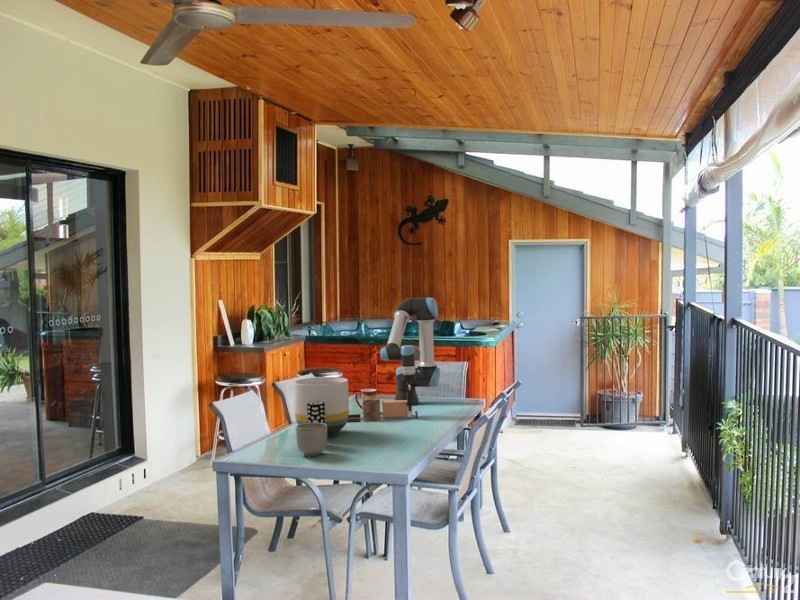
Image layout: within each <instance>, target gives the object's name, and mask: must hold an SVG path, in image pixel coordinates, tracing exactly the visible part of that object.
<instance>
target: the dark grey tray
mask: <svg viewBox="0 0 800 600" xmlns="http://www.w3.org/2000/svg"><path fill="white" fill-rule="evenodd" d="M347 423H361V414H360V413H355V414H354V413H353V414H349V416H348V420H347Z"/></svg>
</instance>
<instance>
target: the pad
mask: <svg viewBox="0 0 800 600" xmlns="http://www.w3.org/2000/svg"><path fill="white" fill-rule="evenodd" d="M400 420H402V421H403V420H414V418H395V419H381V421H400Z"/></svg>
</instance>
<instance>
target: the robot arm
mask: <svg viewBox="0 0 800 600" xmlns="http://www.w3.org/2000/svg"><path fill="white" fill-rule="evenodd" d="M438 315H439V309H438V304H437V301H436V299H435V298H434V297H409V298H406V299H404V300H402V302H400V303H399V304H398V306H397V307H396V308H395V310H394V314H393V318H394V320H393V322H392V326H391V330H390V333H389V337H388V340H387V344H386V347H385V346H384V347H382V348H380V352H379V353H380V359H381V360H382V361H386V362H390V361H391V362H394V361H398V362H399V361H401V362H400V363H401V366H399V367H396V370H395V371H396V372H395V379H396V380H395V381H396V385H395V386H396V391H395V392H396V393H395V396H394V399H393V401H395V400H407V404H406V405H407V416H408V417H413V415H414V414H413V406H416V405H419V404H420V401H419V396H418V393H417V391H416V388H419V387H420V388H422V387H423V388H435V387H437V386H438V385H439V383H440V378H441V369H440V368H439V367H438V364H437V363H436V362H435V348H434V345H435V344H434V342H435V341H434V322H435V320H436V318H437V317H438ZM410 318H415V321H416V322H417V323H418V339H419V341H418V344H419V345H418V346H419V347H417V346H414V345H412V344H409V345H402V340H403V337H404V333H405V331H406V326H407V323H408V322H409V320H410ZM401 345H402V346H401ZM417 360H419V362H418V364H417V367H416V361H417Z"/></svg>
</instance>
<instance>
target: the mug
mask: <svg viewBox="0 0 800 600" xmlns="http://www.w3.org/2000/svg"><path fill="white" fill-rule="evenodd" d="M358 395H360V397H361V403H360V402H359V400H358ZM370 396H377V389H375V388H364V389H360V392H356V394H355V403H356V404H357V405H358V407H359V408H360V409H361V411H362V414H363V415H364V413H363V397H370Z"/></svg>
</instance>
